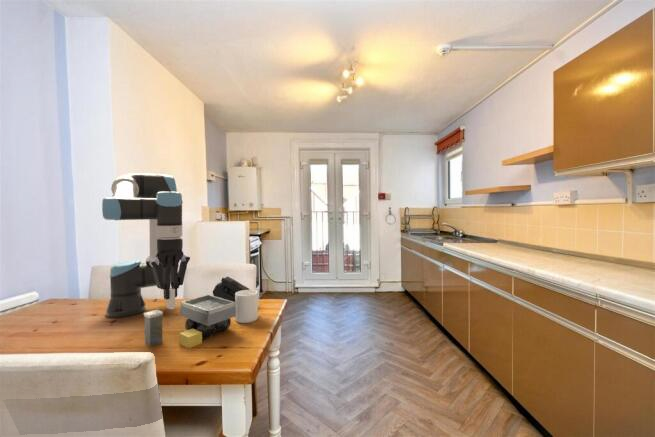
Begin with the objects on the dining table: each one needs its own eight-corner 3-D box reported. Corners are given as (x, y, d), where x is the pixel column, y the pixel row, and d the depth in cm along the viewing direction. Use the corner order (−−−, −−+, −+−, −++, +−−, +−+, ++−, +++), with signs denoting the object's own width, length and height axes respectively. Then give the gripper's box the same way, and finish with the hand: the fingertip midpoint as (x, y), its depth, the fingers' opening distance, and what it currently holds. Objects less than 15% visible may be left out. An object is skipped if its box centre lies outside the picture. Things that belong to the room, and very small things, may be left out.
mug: (231, 322, 122) (230, 295, 122) (244, 312, 134) (244, 287, 133) (251, 324, 120) (251, 296, 120) (263, 314, 132) (263, 288, 132)
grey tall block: (144, 343, 103) (143, 312, 102) (157, 339, 106) (156, 309, 106) (150, 346, 100) (149, 315, 100) (163, 342, 104) (162, 311, 103)
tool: (209, 299, 145) (224, 273, 145) (243, 317, 146) (258, 291, 146) (205, 303, 138) (221, 276, 139) (240, 321, 140) (256, 295, 140)
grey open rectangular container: (179, 331, 113) (179, 302, 113) (209, 321, 124) (209, 294, 123) (206, 343, 103) (206, 311, 102) (236, 330, 113) (236, 301, 113)
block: (179, 344, 102) (179, 333, 102) (192, 339, 107) (192, 328, 107) (188, 348, 99) (188, 337, 99) (202, 343, 103) (201, 332, 103)
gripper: (154, 240, 89) (155, 316, 90) (194, 237, 100) (195, 304, 101) (143, 238, 93) (144, 311, 94) (182, 235, 104) (183, 300, 105)
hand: (170, 307), depth 97 cm, fingers closed
